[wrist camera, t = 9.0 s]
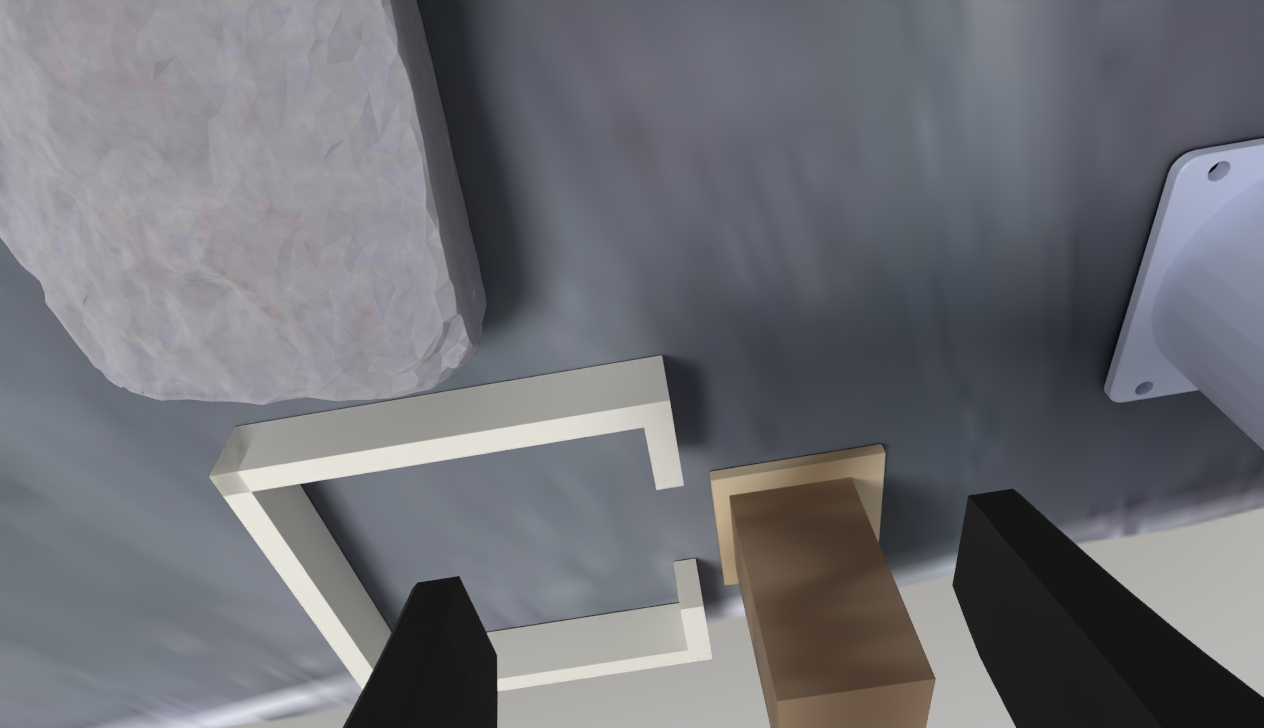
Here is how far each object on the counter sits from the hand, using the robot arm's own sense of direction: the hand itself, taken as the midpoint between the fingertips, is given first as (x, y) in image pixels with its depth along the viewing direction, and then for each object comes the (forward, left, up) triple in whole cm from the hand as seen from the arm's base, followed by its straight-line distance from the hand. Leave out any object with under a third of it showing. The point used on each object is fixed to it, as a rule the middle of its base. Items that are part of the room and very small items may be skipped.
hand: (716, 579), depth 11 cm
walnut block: (-3, +12, -10) cm, 16 cm away
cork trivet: (-4, +12, -10) cm, 16 cm away
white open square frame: (+6, +10, -10) cm, 16 cm away
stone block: (+9, -5, -11) cm, 15 cm away
